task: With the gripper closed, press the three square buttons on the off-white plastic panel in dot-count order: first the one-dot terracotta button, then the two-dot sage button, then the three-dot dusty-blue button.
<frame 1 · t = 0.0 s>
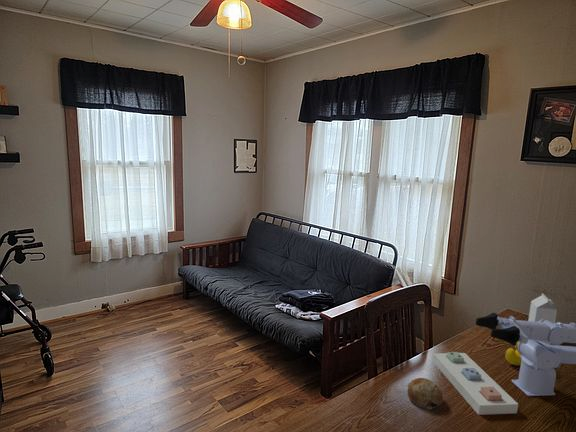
hand: (483, 327, 116), 22 cm above the table, tool horizontal, fingers open, 7 cm apart
button two: (455, 357, 132), point 4 cm above the table, slide at 0.0 cm
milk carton: (538, 339, 155), on the table
button one: (490, 394, 112), point 4 cm above the table, slide at 0.0 cm
bread roll: (422, 399, 115), on the table
button panel: (470, 384, 123), on the table
button three: (471, 374, 122), point 4 cm above the table, slide at 0.0 cm
duckling: (517, 364, 136), on the table
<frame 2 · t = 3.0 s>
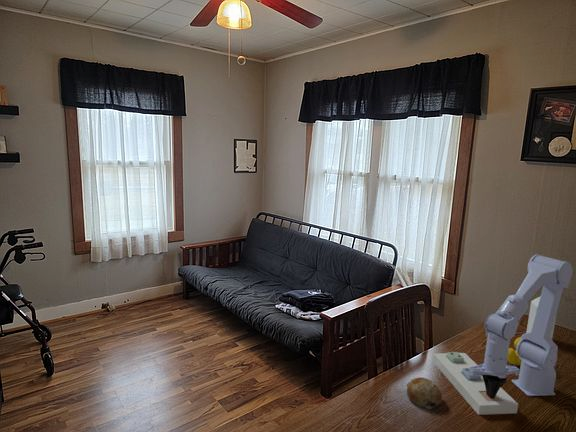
hand: (490, 396, 112), 3 cm above the table, tool pointing down, fingers closed, pressing on button one
button one: (489, 399, 113), point 2 cm above the table, slide at 1.8 cm, touching gripper
everything else where it was.
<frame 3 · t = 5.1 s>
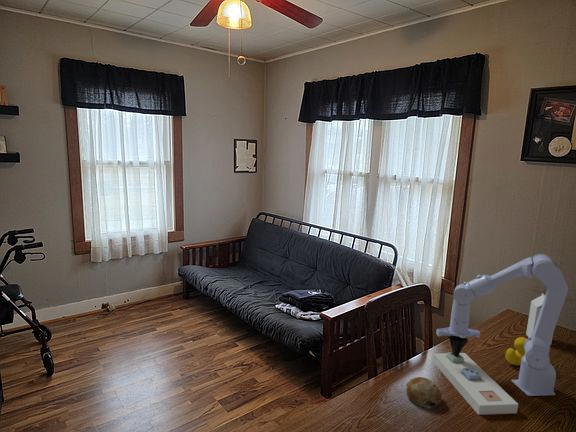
hand: (455, 354, 132), 5 cm above the table, tool pointing down, fingers closed, pressing on button two
button two: (455, 358, 132), point 3 cm above the table, slide at 0.1 cm, touching gripper
button one: (489, 399, 113), point 2 cm above the table, slide at 1.8 cm
everything else where it was.
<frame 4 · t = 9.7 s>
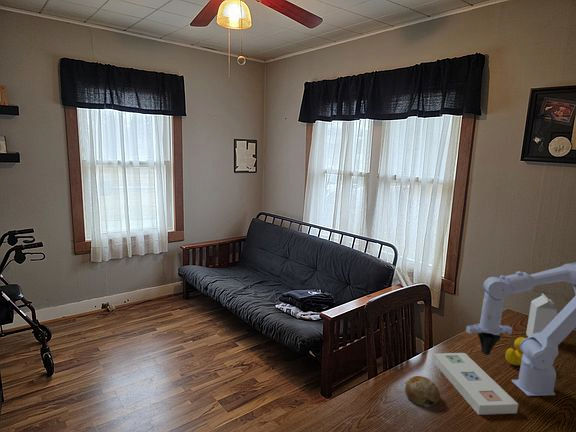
hand: (485, 353, 123), 10 cm above the table, tool pointing down, fingers closed
button two: (454, 362, 132), point 2 cm above the table, slide at 1.8 cm
button three: (470, 379, 122), point 2 cm above the table, slide at 1.8 cm
at the end: button one slide at 1.8 cm; button two slide at 1.8 cm; button three slide at 1.8 cm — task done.
